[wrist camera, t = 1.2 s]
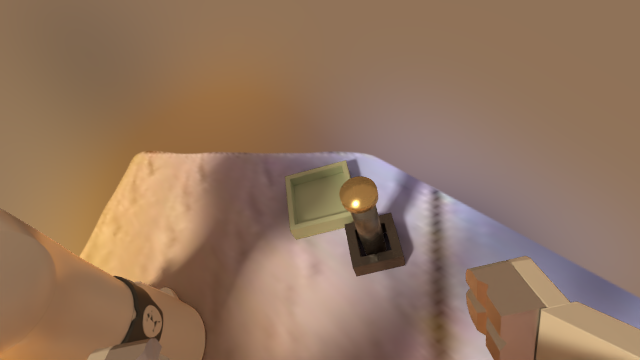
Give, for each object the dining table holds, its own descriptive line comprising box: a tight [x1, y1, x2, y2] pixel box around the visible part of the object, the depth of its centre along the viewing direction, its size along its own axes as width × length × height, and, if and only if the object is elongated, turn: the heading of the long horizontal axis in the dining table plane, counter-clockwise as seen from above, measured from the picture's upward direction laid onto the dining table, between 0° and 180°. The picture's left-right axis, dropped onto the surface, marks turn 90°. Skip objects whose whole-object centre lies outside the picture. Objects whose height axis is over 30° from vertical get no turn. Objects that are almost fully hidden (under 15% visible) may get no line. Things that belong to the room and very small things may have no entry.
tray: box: [285, 160, 354, 239], centre depth 62 cm, size 11×11×3 cm
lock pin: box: [339, 177, 386, 256], centre depth 50 cm, size 4×4×15 cm
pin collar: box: [344, 213, 405, 276], centre depth 55 cm, size 7×7×3 cm
